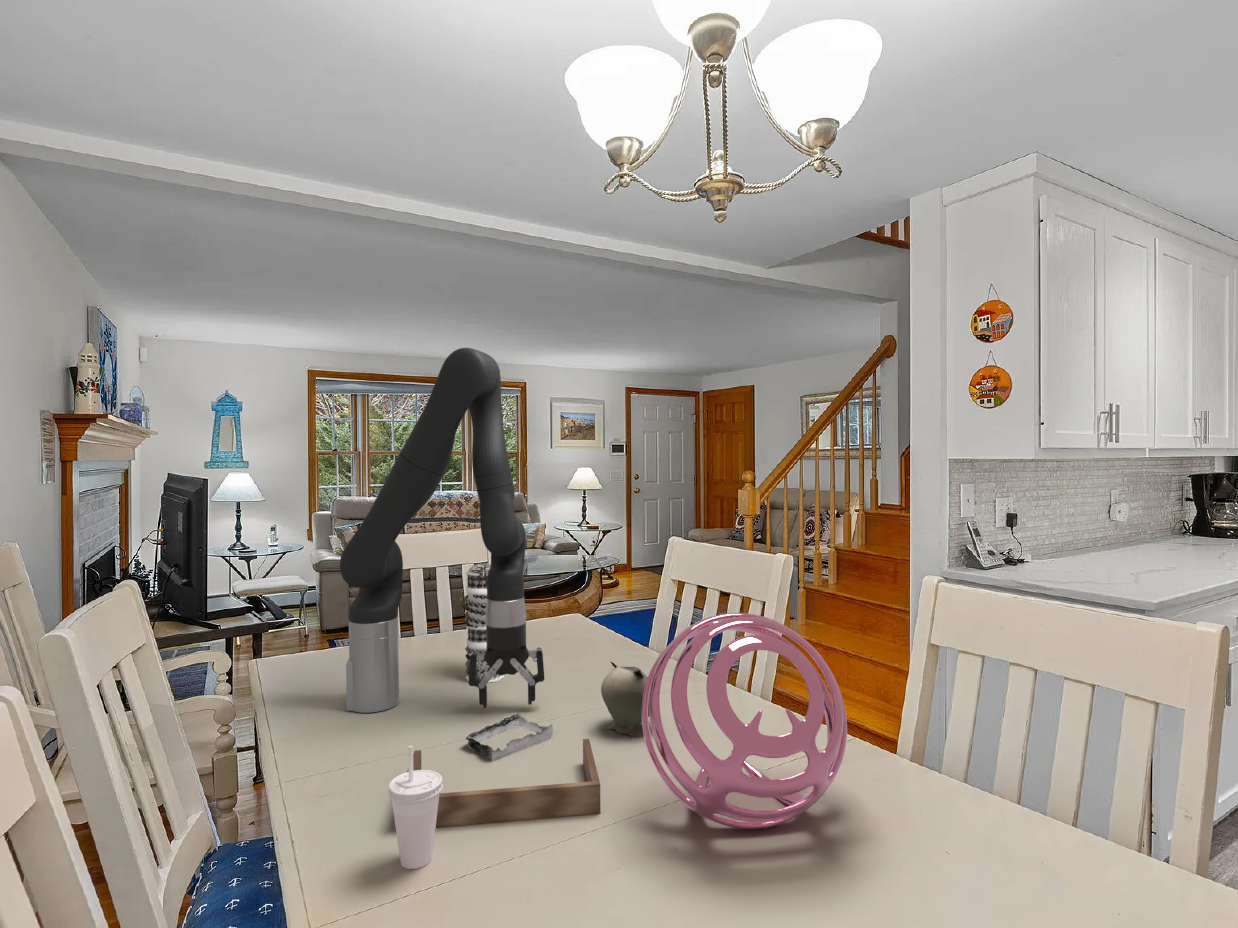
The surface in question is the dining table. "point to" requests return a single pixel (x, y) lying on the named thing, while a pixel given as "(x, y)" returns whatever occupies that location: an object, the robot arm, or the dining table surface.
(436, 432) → the robot arm
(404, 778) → the smoothie
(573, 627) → the dining table surface
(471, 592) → the decorative candle
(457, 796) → the box
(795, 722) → the pink openwork sphere
